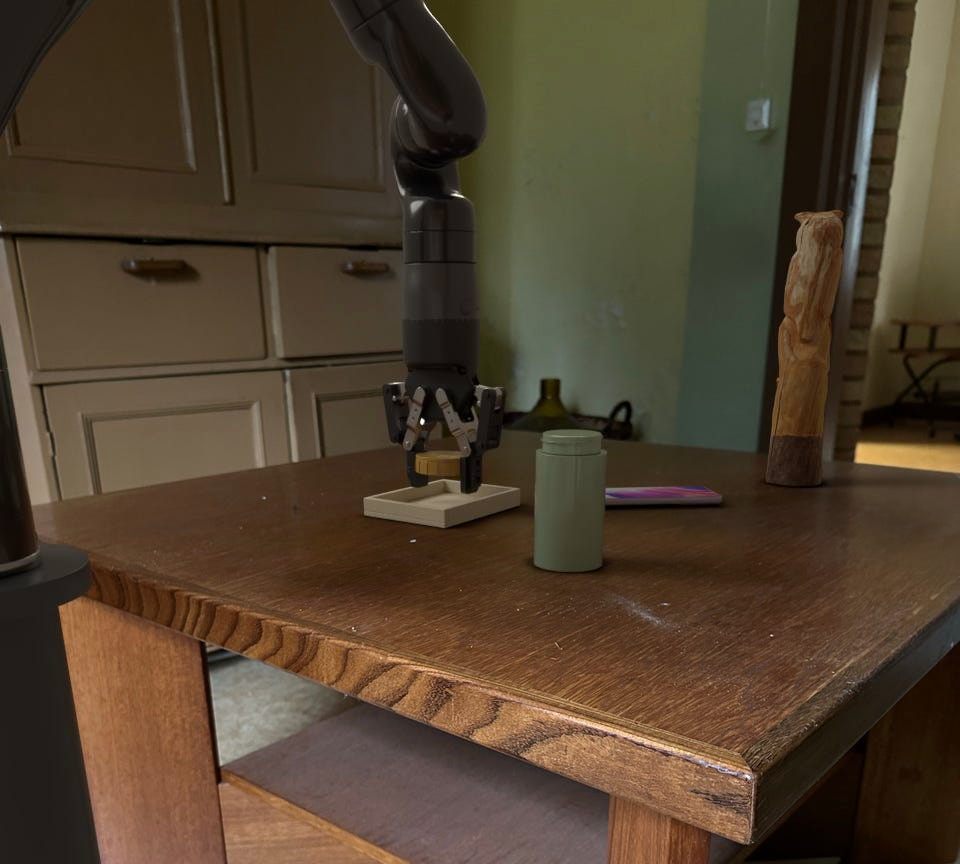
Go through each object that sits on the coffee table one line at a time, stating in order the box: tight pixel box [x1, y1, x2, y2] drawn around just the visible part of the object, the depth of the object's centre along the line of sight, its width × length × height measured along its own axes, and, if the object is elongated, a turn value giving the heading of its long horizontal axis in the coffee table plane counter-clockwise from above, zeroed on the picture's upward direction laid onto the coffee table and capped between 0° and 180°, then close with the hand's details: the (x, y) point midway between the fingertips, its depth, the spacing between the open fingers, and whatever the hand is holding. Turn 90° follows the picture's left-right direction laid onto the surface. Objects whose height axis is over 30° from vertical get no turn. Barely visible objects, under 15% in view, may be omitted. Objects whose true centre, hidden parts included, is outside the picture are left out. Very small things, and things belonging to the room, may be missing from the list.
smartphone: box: [605, 485, 723, 506], centre depth 98 cm, size 7×1×15 cm
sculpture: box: [765, 209, 844, 488], centre depth 105 cm, size 7×9×30 cm
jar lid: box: [415, 450, 463, 477], centre depth 92 cm, size 6×6×2 cm
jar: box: [532, 429, 609, 573], centre depth 72 cm, size 6×6×10 cm
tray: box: [363, 478, 521, 529], centre depth 94 cm, size 13×10×2 cm
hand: (444, 489), depth 93 cm, fingers closed on jar lid, 5 cm apart
